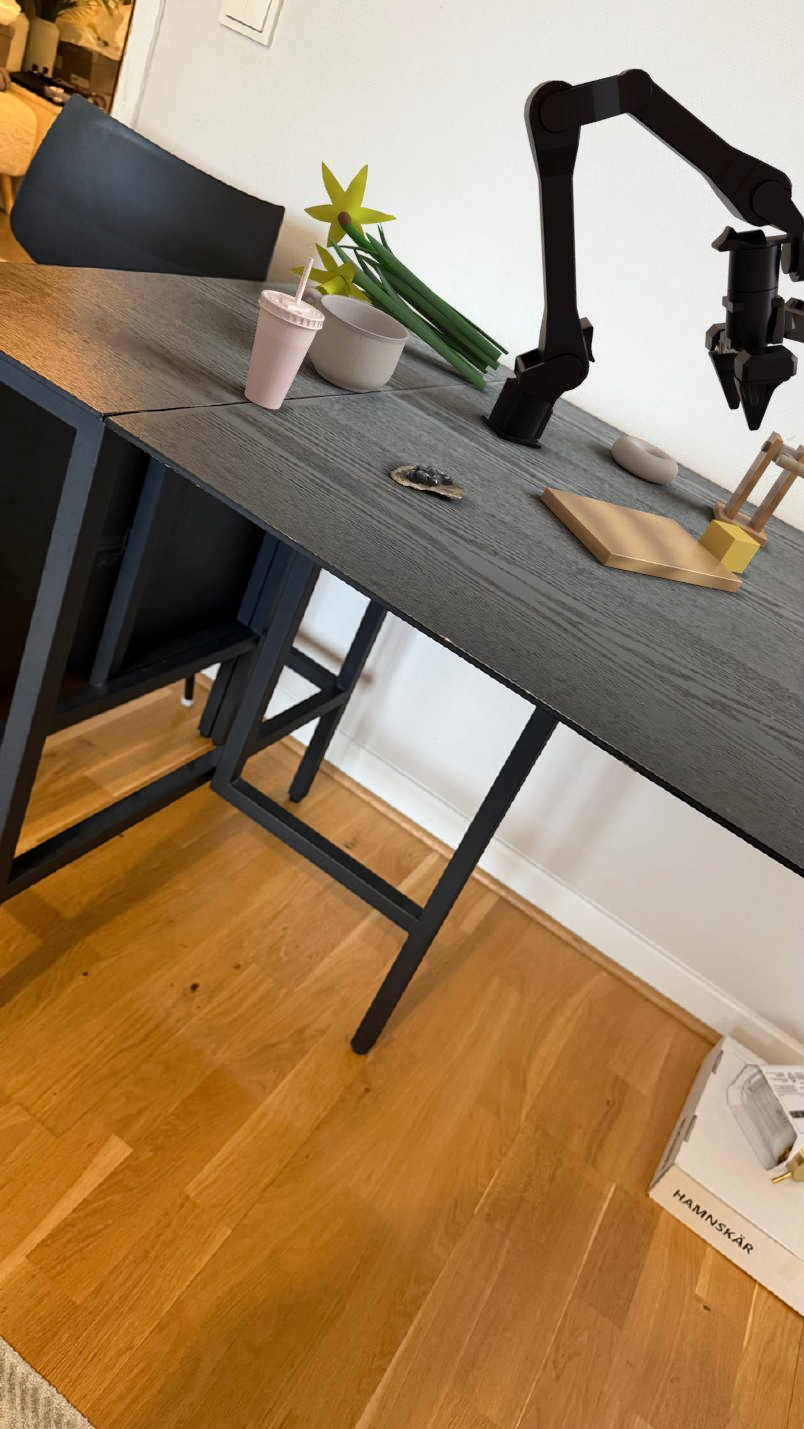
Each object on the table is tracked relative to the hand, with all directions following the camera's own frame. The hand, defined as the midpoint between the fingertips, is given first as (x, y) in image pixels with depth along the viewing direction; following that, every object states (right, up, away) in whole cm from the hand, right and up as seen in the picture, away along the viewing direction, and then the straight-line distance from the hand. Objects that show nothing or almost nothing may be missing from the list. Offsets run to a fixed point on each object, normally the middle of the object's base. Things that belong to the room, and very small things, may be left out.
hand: (743, 419), depth 121 cm
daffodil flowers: (-46, +16, +15) cm, 51 cm away
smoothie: (-58, -6, -26) cm, 63 cm away
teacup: (-52, +2, -9) cm, 53 cm away
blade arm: (+6, -6, +1) cm, 8 cm away
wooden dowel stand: (+3, -12, +10) cm, 16 cm away
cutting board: (-17, -19, -15) cm, 30 cm away
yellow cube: (-6, -19, -7) cm, 21 cm away
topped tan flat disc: (-41, -15, -27) cm, 52 cm away
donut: (-10, -3, +14) cm, 17 cm away
